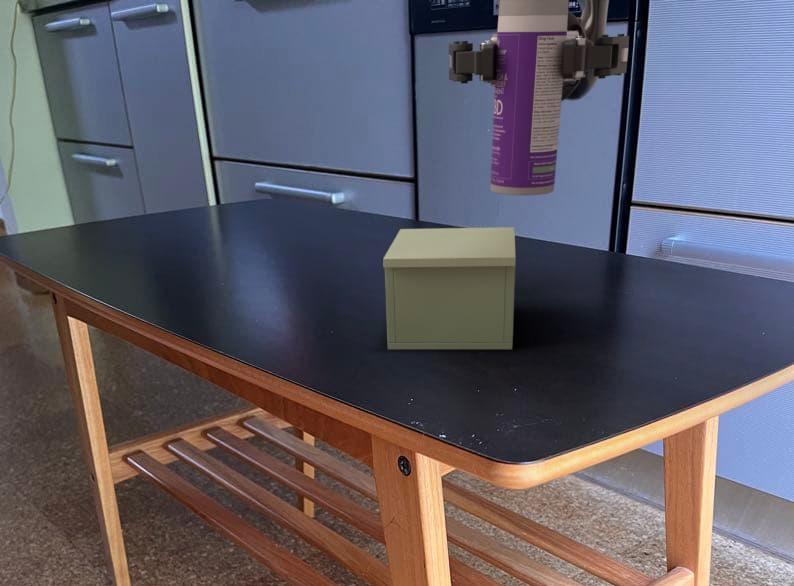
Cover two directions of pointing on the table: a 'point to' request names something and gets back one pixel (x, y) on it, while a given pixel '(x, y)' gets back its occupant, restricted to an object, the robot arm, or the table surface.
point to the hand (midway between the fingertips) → (528, 61)
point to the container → (528, 95)
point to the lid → (452, 248)
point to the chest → (450, 307)
